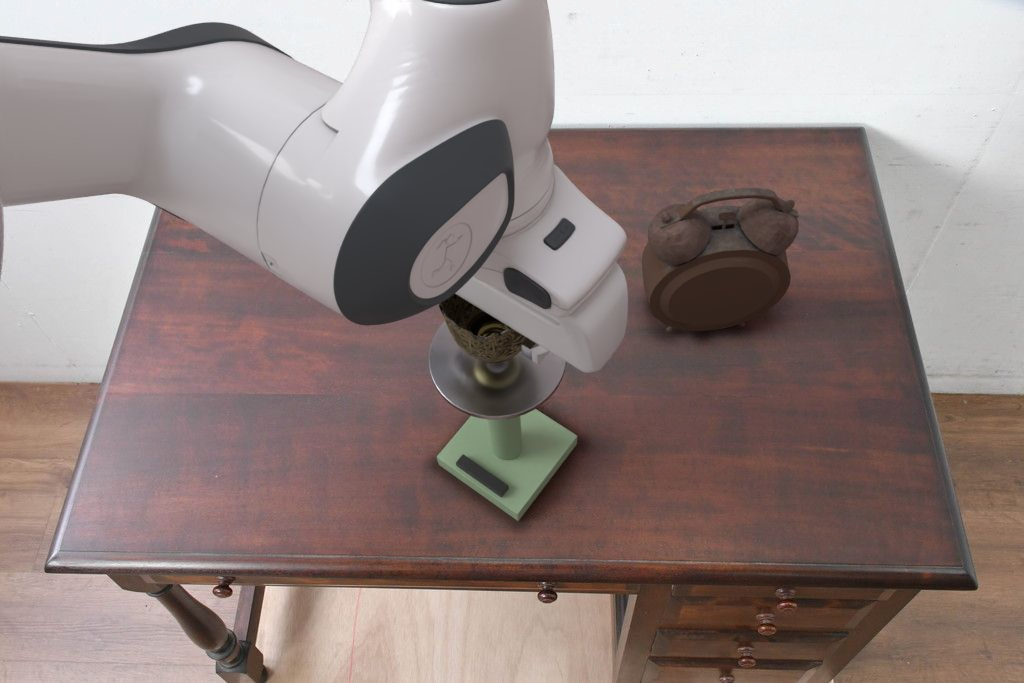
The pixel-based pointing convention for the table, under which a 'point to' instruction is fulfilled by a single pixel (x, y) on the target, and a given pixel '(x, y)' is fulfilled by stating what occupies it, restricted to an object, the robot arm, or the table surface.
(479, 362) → the brushed steel disc
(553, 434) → the scale
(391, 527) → the table surface
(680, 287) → the alarm clock
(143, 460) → the table surface
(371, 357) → the table surface
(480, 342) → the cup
